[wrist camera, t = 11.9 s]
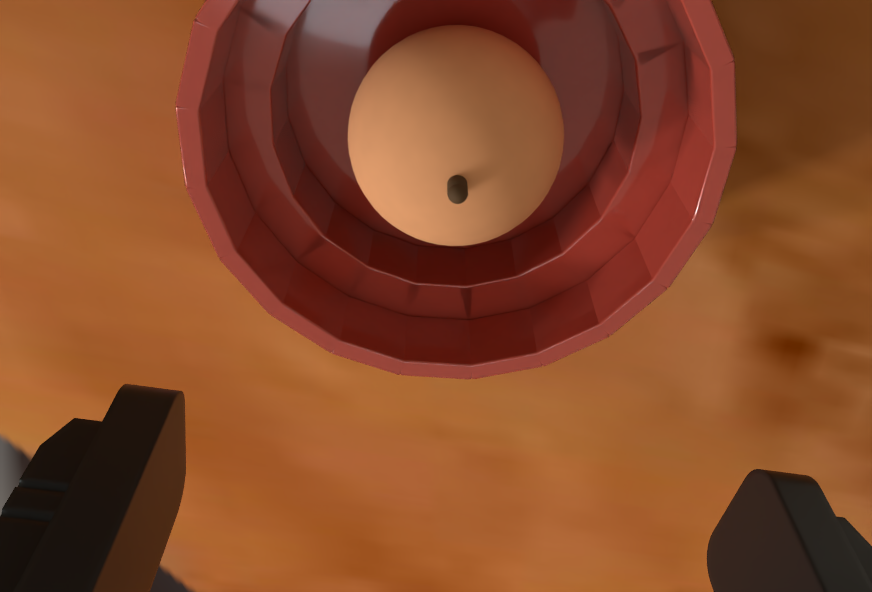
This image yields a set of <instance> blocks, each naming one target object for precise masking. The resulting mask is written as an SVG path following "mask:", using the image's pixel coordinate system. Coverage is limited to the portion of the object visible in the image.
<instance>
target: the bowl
mask: <svg viewBox="0 0 872 592" xmlns="http://www.w3.org/2000/svg"><path fill="white" fill-rule="evenodd" d="M445 25H467V26H476V27H479V28H483V29H487V30H490V31H493V32H495V33H498V34H500V35H503V36H505V37H506V38H508V39H510V40H511V41H513V42H515V43H517V44H518V45H519V46H520V47H522V48H523V49H524V50H526V51H527V52H528V53H529V54H530V55H531V56H532V57H533V58H534V59H535V60H536V61H537V62H538V64H539V65H540V66H541V68H542V69H543V70H544V72H545V73H546V75H547V76H548V78H549V80H550V82H551V84H552V85H553V87H554V89H555V92H556V94H557V97H558V100H559V103H560V107H561V112H562V117H563V124H564V145H563V153H562V158H561V162H560V167H559V170H558V173H557V175H556V178H555V180H554V182H553V184H552V186H551V188H550V190H549V192H548V194H547V195H546V197H545V198H544V200H543V201H542V202H541V204H540V205H539V206H538V207H537V209H536V210H535V211H534V212H533V213H532V214H531V215H530V216H529V217H528V218H527V219H525V220H524V221H523V222H522V223H521V224H519V225H518V226H516V227H515V228H513V229H512V230H510V231H509V232H507V233H505V234H503V235H501V236H499V237H497V238H494V239H491V240H489V241H486V242H482V243H478V244H473V245H465V246H446V245H438V244H433V243H429V242H425V241H422V240H419V239H416V238H414V237H412V236H410V235H408V234H406V233H404V232H402V231H401V230H399V229H397V228H396V227H394V226H393V225H391V224H390V223H389V222H388V221H387V220H385V219H384V218H383V217H382V216H381V215H380V214H379V213H378V212H377V211H376V210H375V209H374V208H373V206H372V205H371V203H370V202H369V201H368V199H367V198H366V196H365V195H364V193H363V192H362V190H361V188H360V186H359V184H358V182H357V179H356V177H355V174H354V172H353V168H352V164H351V160H350V155H349V149H348V124H349V117H350V112H351V107H352V104H353V101H354V98H355V95H356V92H357V90H358V88H359V86H360V84H361V82H362V80H363V79H364V77H365V75H366V74H367V72H368V71H369V70H370V68H371V67H372V65H373V64H374V63H375V62H376V61H377V60H378V59H379V58H380V57H381V55H383V54H384V53H385V52H386V51H387V50H389V49H390V48H391V47H392V46H394V45H395V44H397V43H398V42H400V41H402V40H403V39H405V38H406V37H408V36H411V35H413V34H415V33H417V32H419V31H423V30H426V29H429V28H433V27H439V26H445ZM175 108H176V116H177V124H178V132H179V140H180V149H181V157H182V165H183V173H184V181H185V186H186V187H187V188H186V189H187V192H188V194H189V196H190V198H191V200H192V202H193V205H194V207H195V209H196V211H197V213H198V215H199V217H200V219H201V221H202V224H203V226H204V228H205V230H206V232H207V234H208V236H209V238H210V240H211V243H212V245H213V247H214V249H215V251H216V253H217V255H218V257H219V259H220V261H221V262H222V263H223V264H224V265H225V266H226V267H227V268H228V269H229V270H230V272H231V273H232V274H233V275H234V276H235V277H236V278H237V279H238V280H239V282H240V283H241V284H242V285H243V286H244V287H245V288H246V289H247V290H248V291H249V293H250V294H251V295H252V296H253V297H254V298H255V299H256V300H257V301H258V302H259V304H260V305H261V306H262V307H263V308H264V309H265V310H266V311H267V312H268V313H269V314H270V315H271V316H273V317H274V318H276V319H278V320H279V321H281V322H282V323H284V324H286V325H287V326H289V327H290V328H292V329H294V330H295V331H297V332H298V333H300V334H301V335H303V336H305V337H306V338H308V339H309V340H311V341H313V342H314V343H316V344H317V345H319V346H320V347H322V348H324V349H325V350H327V351H328V352H330V353H331V352H332V354H335V355H338V356H341V357H344V358H347V359H351V360H354V361H357V362H360V363H363V364H366V365H369V366H373V367H376V368H379V369H382V370H385V371H388V372H392V373H395V374H398V375H400V374H401V375H407V376H423V377H439V378H456V379H471V378H472V379H477V378H483V377H488V376H494V375H499V374H505V373H510V372H516V371H521V370H527V369H532V368H538V367H542V365H543V366H546V365H548V364H550V363H552V362H555V361H557V360H559V359H561V358H563V357H566V356H568V355H570V354H572V353H574V352H577V351H579V350H581V349H583V348H585V347H588V346H590V345H592V344H594V343H596V342H599V341H601V340H603V339H605V338H607V337H609V335H612V334H613V333H614V332H616V331H617V330H618V329H619V328H620V327H622V326H623V325H624V324H625V323H627V322H628V321H629V320H630V319H631V318H633V317H634V316H635V315H636V314H638V313H639V312H640V311H641V310H642V309H644V308H645V307H646V306H647V305H649V304H650V303H651V302H652V301H653V300H655V299H656V298H657V297H658V296H660V295H661V294H662V293H663V292H664V291H666V290H667V288H669V287H670V285H671V284H672V283H673V281H674V280H675V278H676V277H677V275H678V274H679V272H680V271H681V270H682V268H683V267H684V265H685V264H686V262H687V261H688V260H689V258H690V257H691V255H692V254H693V252H694V251H695V249H696V248H697V247H698V245H699V244H700V242H701V241H702V239H703V238H704V236H705V235H706V234H707V232H708V231H709V229H710V228H711V226H712V223H713V222H714V219H715V216H716V213H717V209H718V206H719V203H720V200H721V197H722V193H723V190H724V187H725V184H726V181H727V177H728V174H729V171H730V168H731V165H732V161H733V158H734V155H735V152H736V149H737V148H736V146H737V118H736V81H735V62H734V56H733V53H732V51H731V48H730V46H729V43H728V41H727V38H726V36H725V33H724V31H723V28H722V26H721V23H720V21H719V18H718V16H717V13H716V11H715V8H714V6H713V3H712V1H711V0H205V2H204V4H203V5H202V7H201V8H200V10H199V11H198V13H197V15H196V18H195V19H194V21H193V25H192V30H191V34H190V39H189V43H188V48H187V53H186V57H185V62H184V66H183V71H182V75H181V80H180V84H179V89H178V94H177V98H176V107H175Z"/></svg>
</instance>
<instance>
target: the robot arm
mask: <svg viewBox="0 0 872 592" xmlns="http://www.w3.org/2000/svg"><path fill="white" fill-rule="evenodd" d="M185 474H186V445H185V399H184V394H183V392H182V391H176V390H168V389H161V388H153V387H146V386H138V385H131V384H125V385H123V386H122V387H121V388H120V389H119V391H118V393H117V394H116V396H115V398H114V400H113V402H112V404H111V406H110V408H109V410H108V412H107V413H106V415H105V417H104V419H103V421H94V420H86V419H78V418H74V419H73V420H71V421H70V422H69V423H68V424H66V425H65V426H64V427H63V428H61V429H60V430H59V431H58V432H56V433H55V434H54V435H53V436H51V437H50V438H49V439H48V440H46V441H45V442H44V443H43V444H41V445H40V446H39V448H38V450H37V451H36V453H35V455H34V457H33V458H32V460H31V462H30V463H29V465H28V467H27V468H26V470H25V472H24V473H23V475H22V477H21V478H20V481H19V485H18V487H15V488H14V490H13V492H12V493H11V495H10V497H9V498H8V500H7V502H6V503H5V505H4V507H3V509H2V514H1V516H0V592H150V589H151V586H152V583H153V581H154V578H155V575H156V572H157V569H158V567H159V564H160V561H161V558H162V555H163V553H164V550H165V547H166V544H167V541H168V539H169V536H170V533H171V530H172V527H173V525H174V522H175V519H176V516H177V513H178V510H179V506H180V503H181V498H182V494H183V489H184V482H185ZM707 567H708V574H709V578H710V581H711V584H712V587H713V590H714V592H872V546H871V545H870V544H869V543H868V542H867V541H866V540H865V539H864V538H863V537H862V536H861V535H860V533H859V532H858V531H857V530H856V529H855V528H854V527H853V526H852V525H851V524H850V523H849V522H848V521H847V520H846V519H845V518H843V517H836V516H835V514H834V512H833V510H832V508H831V506H830V505H829V503H828V501H827V499H826V497H825V495H824V493H823V491H822V490H821V488H820V486H819V485H818V483H817V482H816V481H815V480H814V479H813V478H811V477H809V476H807V475H799V474H792V473H784V472H776V471H769V470H761V469H756V470H753V471H751V472H750V473H749V474H748V475H747V476H746V478H745V479H744V481H743V483H742V484H741V486H740V488H739V489H738V491H737V493H736V494H735V496H734V498H733V499H732V501H731V503H730V504H729V506H728V508H727V509H726V511H725V513H724V514H723V516H722V518H721V519H720V521H719V523H718V524H717V526H716V528H715V529H714V531H713V533H712V535H711V537H710V540H709V544H708V550H707Z"/></svg>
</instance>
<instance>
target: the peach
mask: <svg viewBox="0 0 872 592" xmlns="http://www.w3.org/2000/svg"><path fill="white" fill-rule="evenodd" d="M563 145H564V124H563V117H562V112H561V107H560V103H559V100H558V97H557V94H556V92H555V89H554V87H553V85H552V84H551V82H550V80H549V78H548V76H547V75H546V73H545V72H544V70H543V69H542V68H541V66H540V65H539V64H538V62H537V61H536V60H535V59H534V58H533V57H532V56H531V55H530V54H529V53H528V52H527V51H526V50H524V49H523V48H522V47H520V46H519V45H518V44H517V43H515V42H513V41H511V40H510V39H508V38H506V37H505V36H503V35H500V34H498V33H495V32H493V31H490V30H487V29H483V28H479V27H476V26H467V25H445V26H439V27H433V28H429V29H426V30H423V31H419V32H417V33H415V34H413V35H411V36H408V37H406V38H405V39H403V40H402V41H400V42H398V43H397V44H395V45H394V46H392V47H391V48H390V49H389V50H387V51H386V52H385V53H384V54H383V55H381V57H380V58H379V59H378V60H377V61H376V62H375V63H374V64H373V65H372V67H371V68H370V70H369V71H368V72H367V74H366V75H365V77H364V79H363V80H362V82H361V84H360V86H359V88H358V90H357V92H356V95H355V98H354V101H353V104H352V107H351V112H350V117H349V124H348V149H349V155H350V160H351V164H352V168H353V172H354V174H355V177H356V179H357V182H358V184H359V186H360V188H361V190H362V192H363V193H364V195H365V196H366V198H367V199H368V201H369V202H370V203H371V205H372V206H373V208H374V209H375V210H376V211H377V212H378V213H379V214H380V215H381V216H382V217H383V218H384V219H385V220H387V221H388V222H389V223H390V224H391V225H393V226H394V227H396V228H397V229H399V230H401V231H402V232H404V233H406V234H408V235H410V236H412V237H414V238H416V239H419V240H422V241H425V242H429V243H433V244H438V245H446V246H465V245H473V244H478V243H482V242H486V241H489V240H491V239H494V238H497V237H499V236H501V235H503V234H505V233H507V232H509V231H510V230H512V229H513V228H515V227H516V226H518V225H519V224H521V223H522V222H523V221H524V220H525V219H527V218H528V217H529V216H530V215H531V214H532V213H533V212H534V211H535V210H536V209H537V207H538V206H539V205H540V204H541V202H542V201H543V200H544V198H545V197H546V195H547V194H548V192H549V190H550V188H551V186H552V184H553V182H554V180H555V178H556V175H557V173H558V170H559V167H560V162H561V158H562V153H563Z"/></svg>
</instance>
